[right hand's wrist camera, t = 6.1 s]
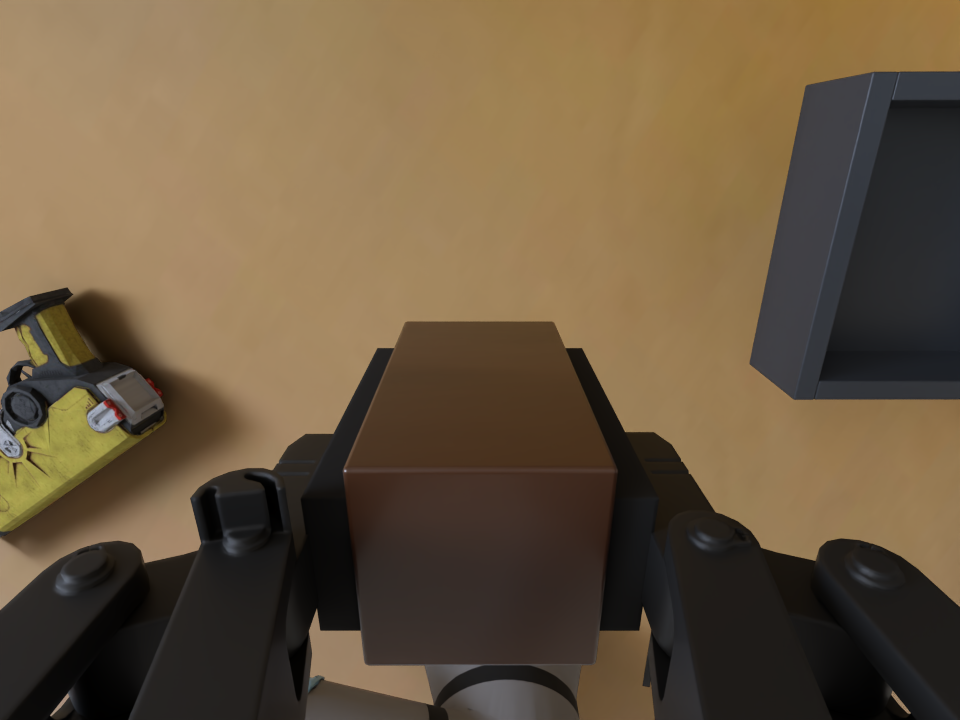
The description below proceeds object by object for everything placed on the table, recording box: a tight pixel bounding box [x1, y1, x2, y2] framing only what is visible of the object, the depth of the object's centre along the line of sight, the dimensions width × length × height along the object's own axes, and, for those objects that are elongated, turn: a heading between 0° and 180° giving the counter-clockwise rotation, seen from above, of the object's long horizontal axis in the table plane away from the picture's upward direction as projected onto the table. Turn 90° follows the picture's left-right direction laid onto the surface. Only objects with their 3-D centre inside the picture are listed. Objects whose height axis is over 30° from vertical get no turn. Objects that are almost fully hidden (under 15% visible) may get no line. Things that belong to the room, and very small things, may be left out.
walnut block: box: [343, 322, 618, 665], centre depth 12 cm, size 4×4×7 cm
